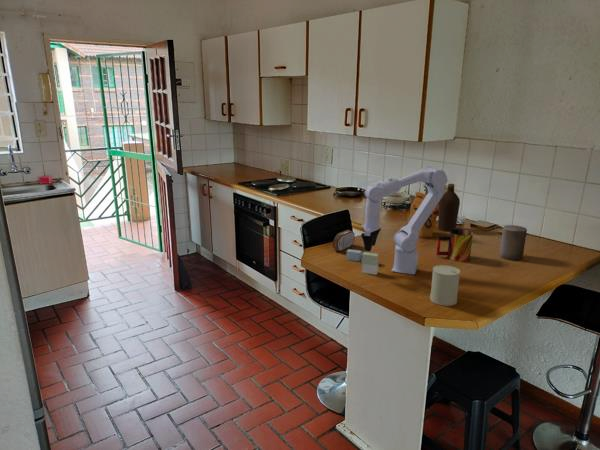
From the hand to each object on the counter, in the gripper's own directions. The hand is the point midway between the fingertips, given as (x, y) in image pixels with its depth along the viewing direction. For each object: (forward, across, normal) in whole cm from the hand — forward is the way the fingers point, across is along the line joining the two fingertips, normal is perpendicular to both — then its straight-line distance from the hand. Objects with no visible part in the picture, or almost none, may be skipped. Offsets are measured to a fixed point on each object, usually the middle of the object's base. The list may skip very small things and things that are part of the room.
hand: (369, 248), depth 176 cm
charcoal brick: (+10, -10, -2) cm, 15 cm away
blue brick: (+11, -12, -9) cm, 19 cm away
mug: (+10, -31, +32) cm, 46 cm away
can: (+10, +15, +31) cm, 36 cm away
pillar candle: (+9, -43, +56) cm, 71 cm away
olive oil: (+9, -77, +26) cm, 82 cm away
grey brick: (+10, 0, +1) cm, 10 cm away
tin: (+11, -24, -17) cm, 31 cm away
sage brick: (+6, 0, 0) cm, 7 cm away
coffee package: (+10, -61, +14) cm, 63 cm away
